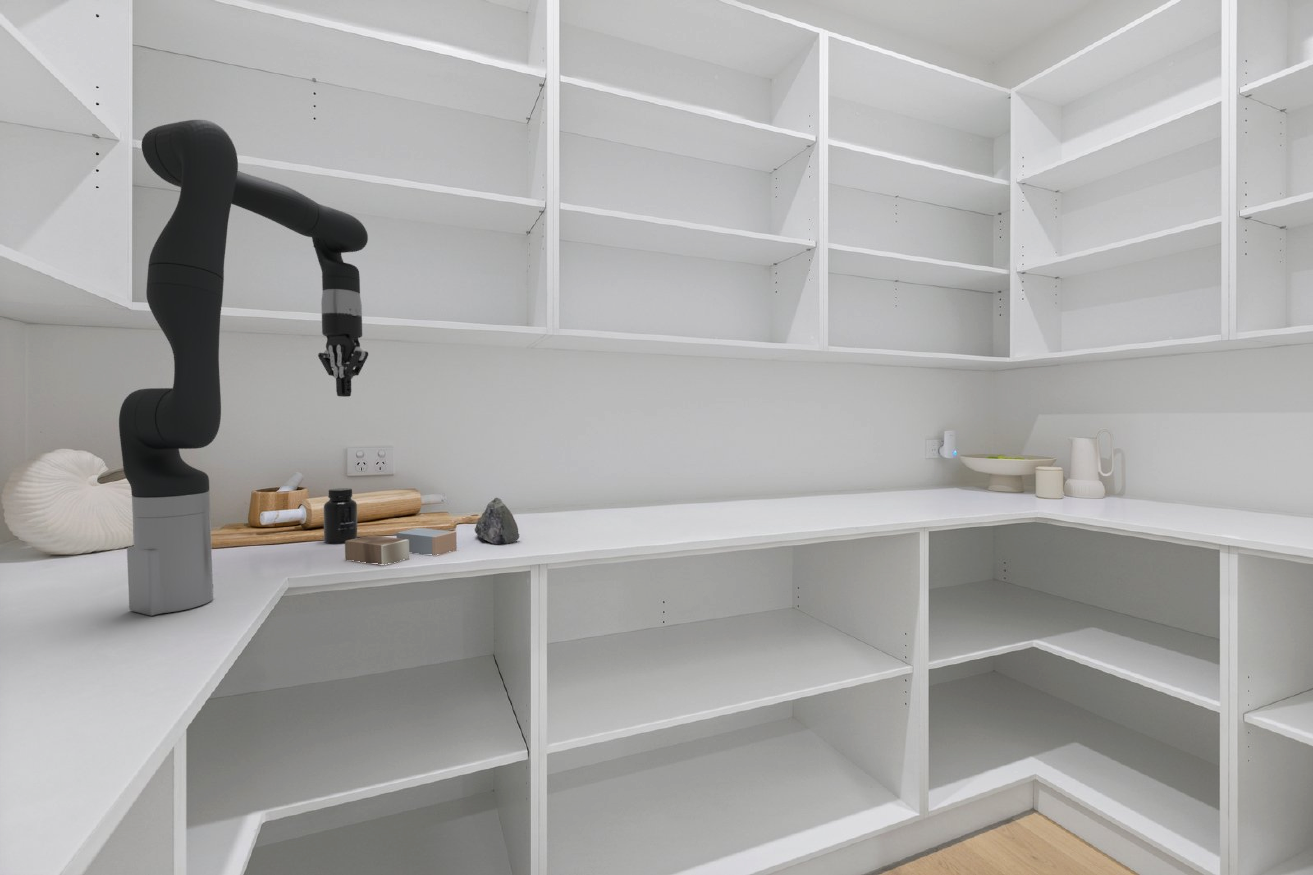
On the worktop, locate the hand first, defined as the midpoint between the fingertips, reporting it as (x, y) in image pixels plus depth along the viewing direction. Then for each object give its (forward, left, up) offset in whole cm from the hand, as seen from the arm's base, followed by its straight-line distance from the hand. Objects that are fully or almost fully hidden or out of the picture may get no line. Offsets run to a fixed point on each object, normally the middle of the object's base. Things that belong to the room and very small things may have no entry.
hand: (344, 396), depth 126 cm
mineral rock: (+22, -22, -33) cm, 45 cm away
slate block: (+7, -21, -31) cm, 38 cm away
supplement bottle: (+6, +10, -33) cm, 35 cm away
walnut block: (-3, -18, -31) cm, 36 cm away
